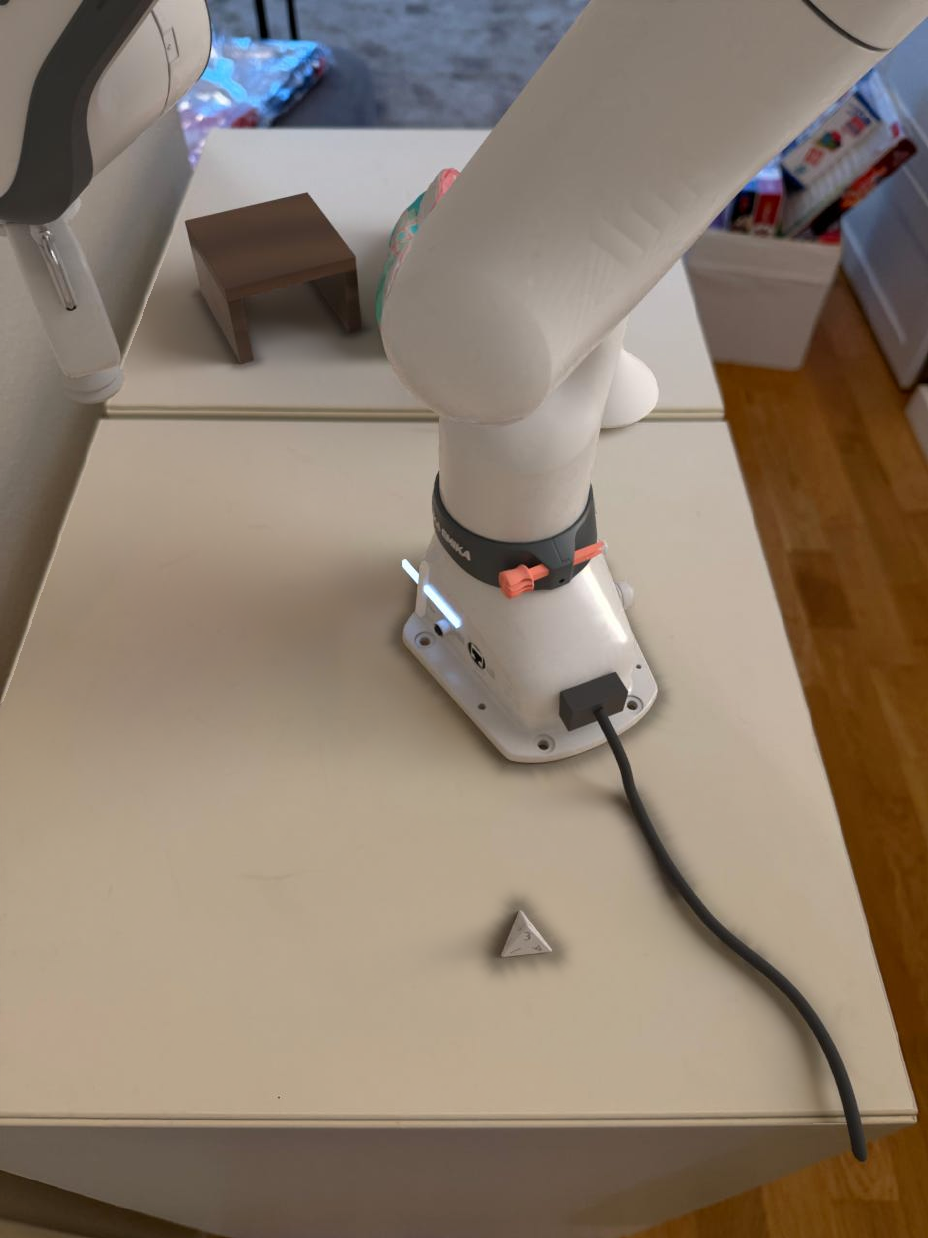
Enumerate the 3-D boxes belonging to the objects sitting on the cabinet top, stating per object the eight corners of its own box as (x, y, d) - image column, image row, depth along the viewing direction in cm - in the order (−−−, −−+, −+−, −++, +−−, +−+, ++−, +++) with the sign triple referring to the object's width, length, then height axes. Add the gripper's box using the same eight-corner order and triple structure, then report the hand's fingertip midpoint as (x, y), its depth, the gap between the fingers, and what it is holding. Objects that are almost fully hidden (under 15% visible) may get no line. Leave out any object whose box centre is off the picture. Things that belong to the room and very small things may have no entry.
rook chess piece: (127, 364, 70) (94, 268, 63) (125, 403, 67) (91, 307, 61) (66, 371, 69) (26, 275, 63) (62, 410, 66) (20, 314, 60)
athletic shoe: (434, 230, 116) (369, 161, 108) (493, 196, 111) (429, 122, 103) (407, 401, 106) (333, 340, 97) (471, 374, 100) (398, 306, 92)
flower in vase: (661, 440, 92) (721, 199, 72) (547, 437, 92) (575, 195, 72) (648, 358, 100) (698, 120, 80) (543, 355, 100) (567, 116, 80)
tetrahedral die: (536, 977, 62) (554, 971, 59) (500, 956, 62) (516, 949, 59) (554, 929, 64) (572, 922, 61) (519, 909, 63) (536, 901, 61)
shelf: (362, 329, 102) (355, 255, 95) (240, 364, 98) (224, 289, 91) (316, 264, 110) (307, 191, 103) (202, 294, 106) (184, 220, 99)
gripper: (106, 229, 50) (169, 425, 61) (27, 77, 61) (92, 267, 72) (-14, 258, 48) (72, 455, 59) (-74, 96, 59) (9, 288, 70)
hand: (83, 351), depth 66 cm, fingers closed on rook chess piece, 3 cm apart
